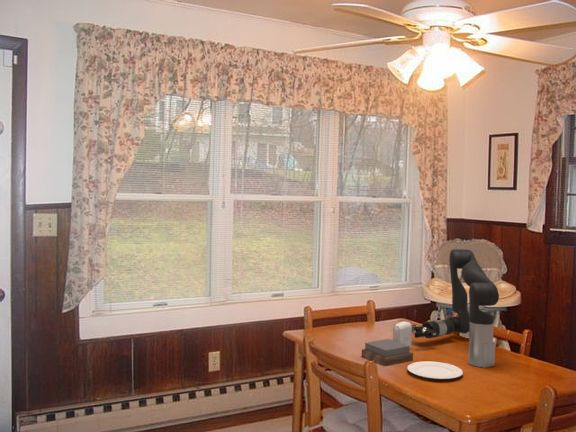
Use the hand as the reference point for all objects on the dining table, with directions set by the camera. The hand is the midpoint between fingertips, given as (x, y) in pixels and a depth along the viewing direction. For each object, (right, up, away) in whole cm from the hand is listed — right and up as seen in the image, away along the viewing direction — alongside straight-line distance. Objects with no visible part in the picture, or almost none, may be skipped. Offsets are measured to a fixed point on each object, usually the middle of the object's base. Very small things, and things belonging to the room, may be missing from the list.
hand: (408, 333), depth 249 cm
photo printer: (-3, -7, -2) cm, 8 cm away
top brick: (-12, -4, -16) cm, 20 cm away
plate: (+3, -9, -34) cm, 36 cm away
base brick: (-12, -7, -15) cm, 21 cm away
